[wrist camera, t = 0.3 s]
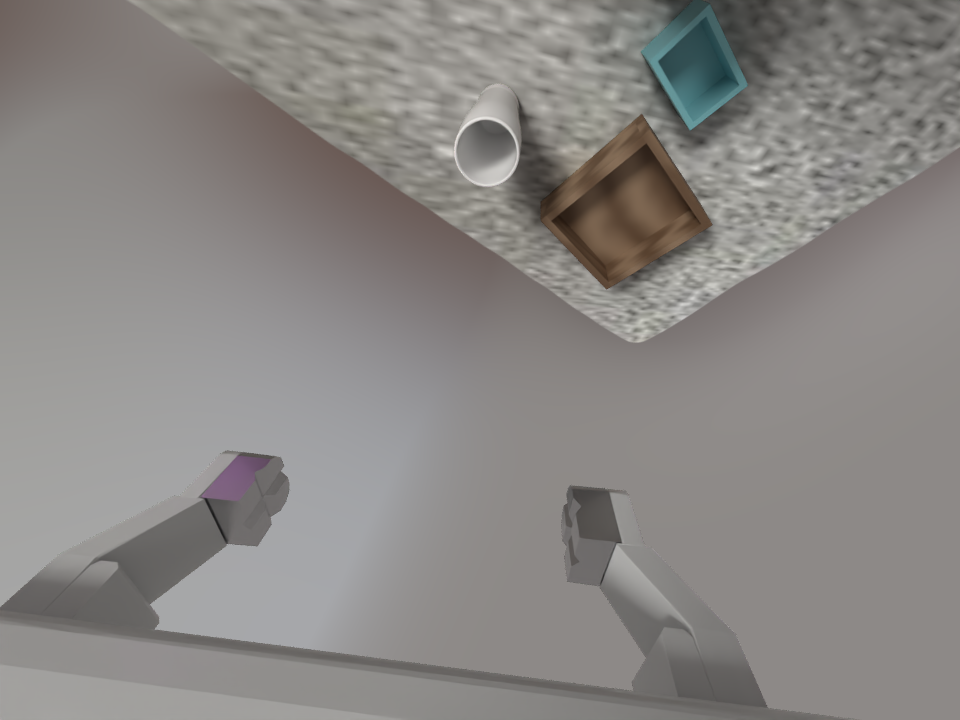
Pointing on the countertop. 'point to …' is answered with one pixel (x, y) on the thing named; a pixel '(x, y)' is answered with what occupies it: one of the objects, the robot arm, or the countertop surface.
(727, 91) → the teal crate
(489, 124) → the white cup
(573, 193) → the walnut crate
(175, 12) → the countertop surface
